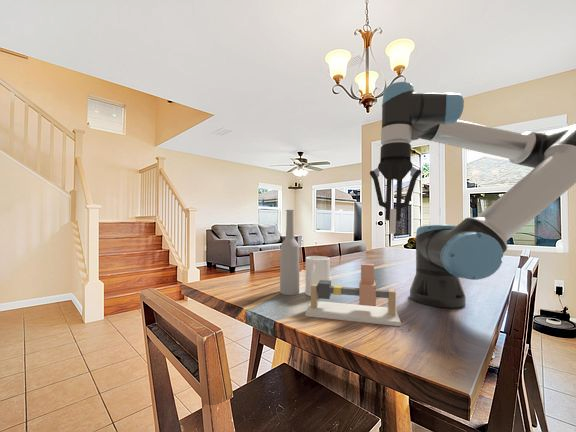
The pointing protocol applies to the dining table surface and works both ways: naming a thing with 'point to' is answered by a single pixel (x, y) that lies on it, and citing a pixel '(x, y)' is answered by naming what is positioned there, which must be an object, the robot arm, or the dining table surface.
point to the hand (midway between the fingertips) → (392, 233)
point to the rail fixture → (351, 305)
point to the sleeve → (367, 286)
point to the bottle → (289, 259)
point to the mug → (316, 271)
